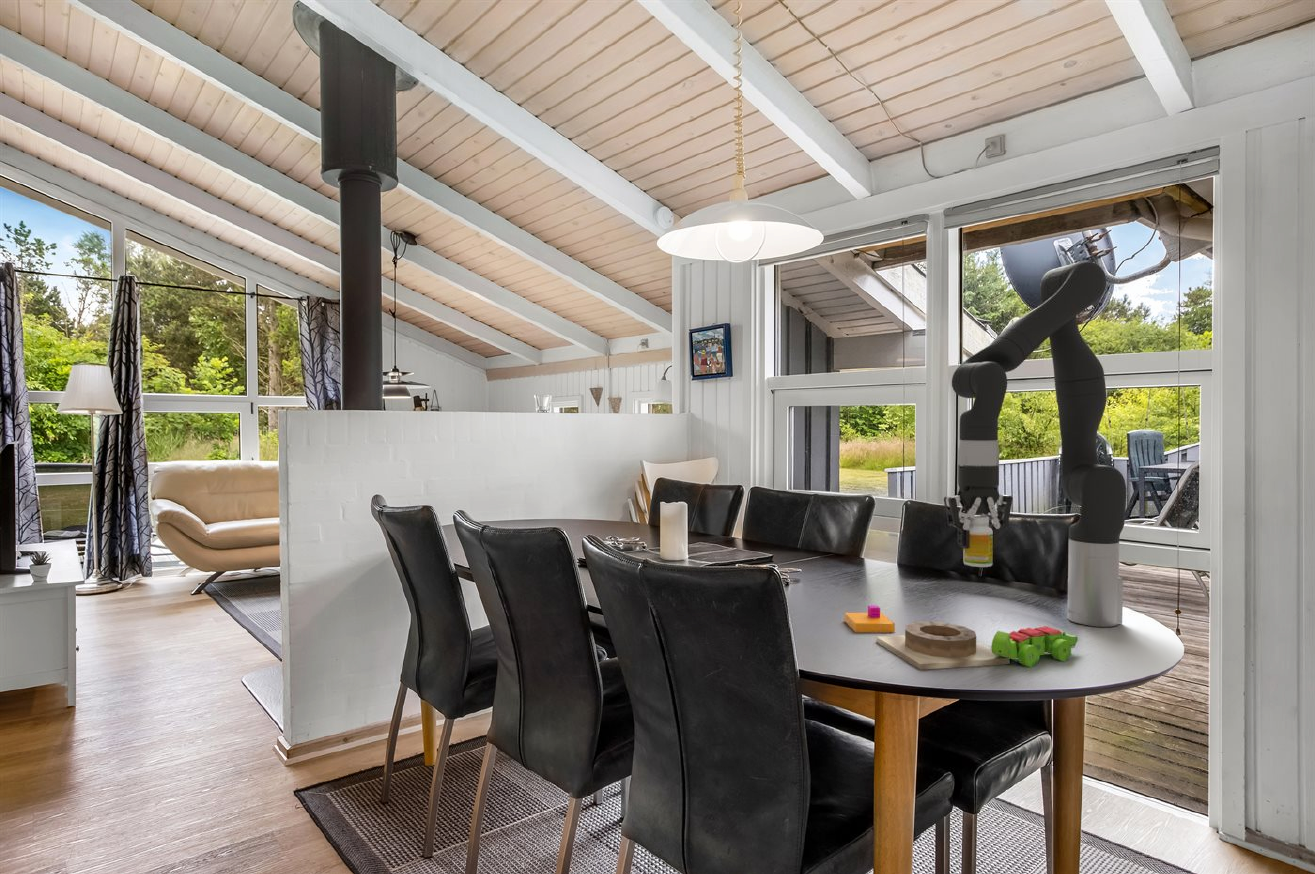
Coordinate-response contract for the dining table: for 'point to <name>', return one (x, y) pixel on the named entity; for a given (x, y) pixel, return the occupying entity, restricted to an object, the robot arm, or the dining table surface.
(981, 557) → the supplement bottle
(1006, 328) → the robot arm
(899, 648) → the flat beige square board
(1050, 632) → the toy crocodile
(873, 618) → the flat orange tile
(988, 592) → the dining table surface
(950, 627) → the wooden ring
